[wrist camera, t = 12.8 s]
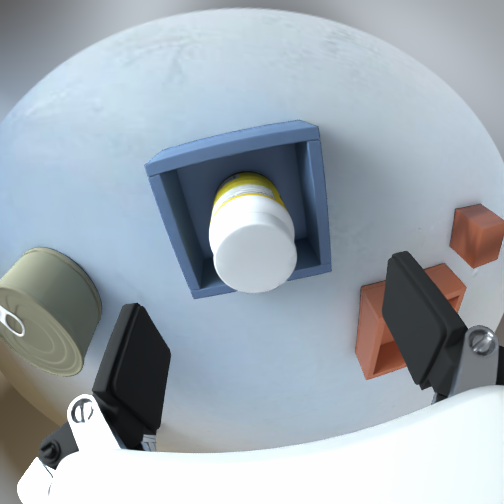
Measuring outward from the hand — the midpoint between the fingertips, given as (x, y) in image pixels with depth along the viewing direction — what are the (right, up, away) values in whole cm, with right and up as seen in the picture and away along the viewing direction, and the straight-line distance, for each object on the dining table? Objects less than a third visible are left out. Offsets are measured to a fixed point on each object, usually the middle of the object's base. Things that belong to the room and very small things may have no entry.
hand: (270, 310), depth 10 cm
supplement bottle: (-1, +6, +10) cm, 12 cm away
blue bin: (-1, +6, +11) cm, 13 cm away
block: (+23, +5, +13) cm, 27 cm away
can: (-22, -2, +15) cm, 26 cm away
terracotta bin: (+17, -5, +19) cm, 26 cm away
